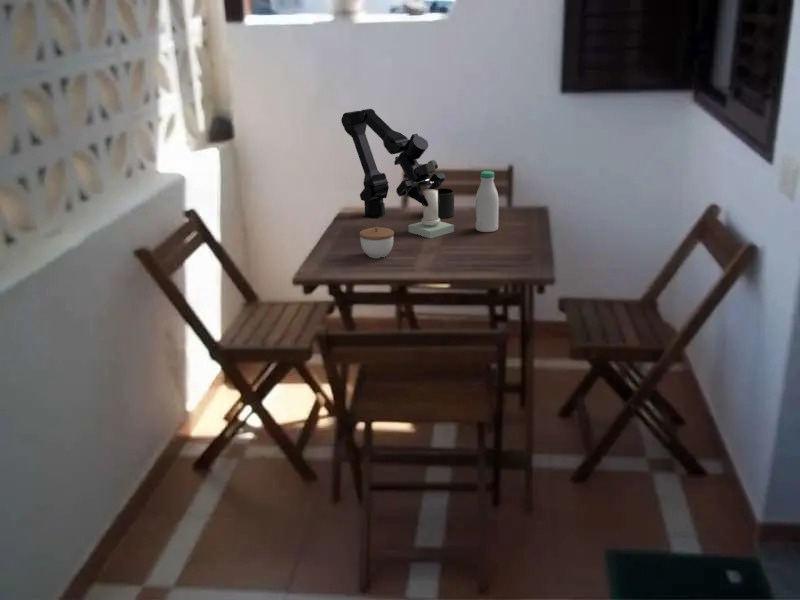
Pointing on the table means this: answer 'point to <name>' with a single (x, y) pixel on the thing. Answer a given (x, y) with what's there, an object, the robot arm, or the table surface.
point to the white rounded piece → (431, 207)
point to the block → (431, 229)
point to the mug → (445, 203)
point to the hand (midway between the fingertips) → (433, 204)
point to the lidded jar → (377, 241)
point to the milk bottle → (487, 204)
